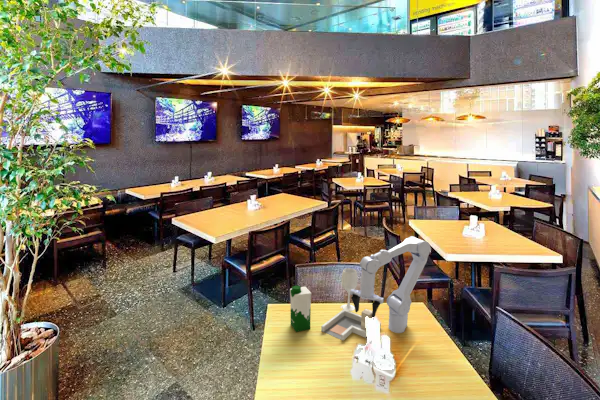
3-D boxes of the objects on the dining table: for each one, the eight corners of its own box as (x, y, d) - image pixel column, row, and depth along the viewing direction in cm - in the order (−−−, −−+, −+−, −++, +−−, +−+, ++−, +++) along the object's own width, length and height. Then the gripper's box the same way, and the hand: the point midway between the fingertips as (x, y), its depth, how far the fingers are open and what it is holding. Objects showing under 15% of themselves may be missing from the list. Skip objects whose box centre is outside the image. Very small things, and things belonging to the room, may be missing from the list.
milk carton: (288, 323, 148) (288, 284, 145) (305, 320, 151) (306, 281, 148) (294, 333, 140) (294, 292, 137) (313, 329, 143) (313, 288, 140)
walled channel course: (343, 315, 156) (343, 309, 155) (380, 329, 144) (380, 322, 143) (321, 332, 141) (321, 325, 140) (360, 349, 129) (360, 342, 128)
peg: (364, 326, 145) (365, 308, 143) (372, 329, 142) (373, 311, 141) (360, 330, 141) (361, 312, 140) (368, 333, 139) (369, 315, 138)
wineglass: (356, 305, 166) (357, 267, 163) (357, 313, 158) (359, 274, 154) (339, 304, 167) (340, 267, 164) (340, 312, 159) (341, 273, 155)
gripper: (348, 283, 135) (346, 312, 137) (380, 292, 128) (378, 323, 130) (354, 278, 141) (352, 306, 143) (386, 286, 133) (383, 316, 135)
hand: (365, 313), depth 137 cm, fingers open, 7 cm apart
